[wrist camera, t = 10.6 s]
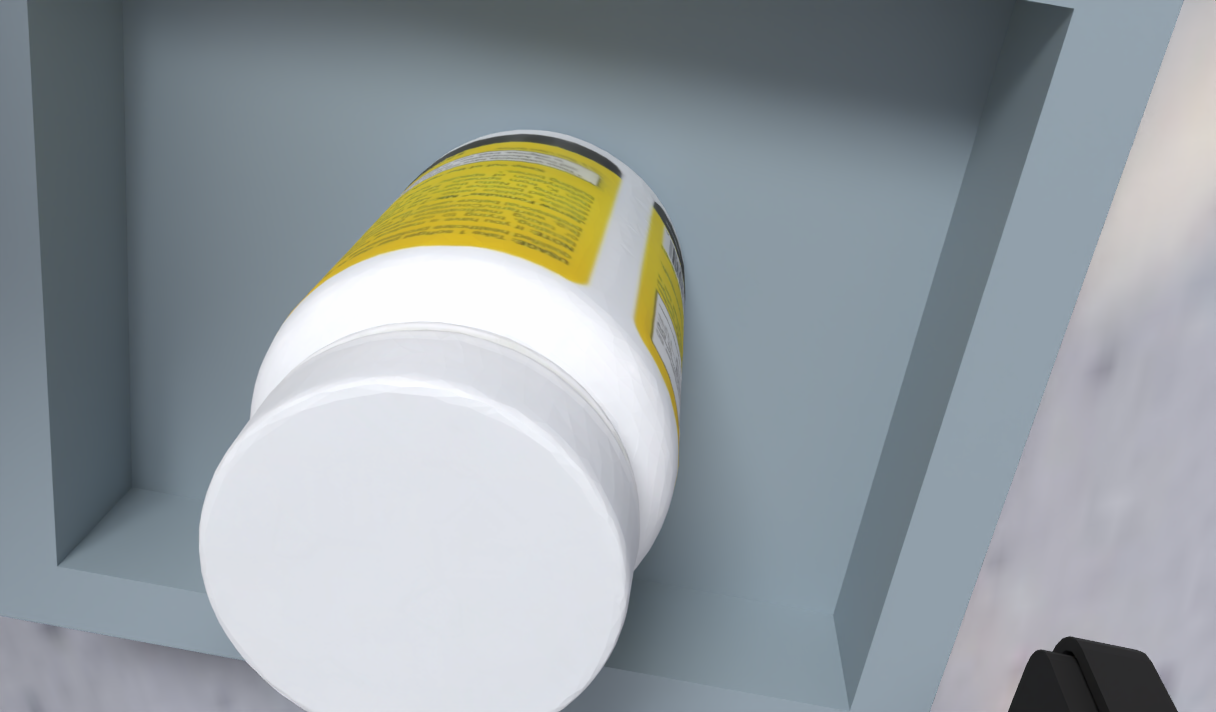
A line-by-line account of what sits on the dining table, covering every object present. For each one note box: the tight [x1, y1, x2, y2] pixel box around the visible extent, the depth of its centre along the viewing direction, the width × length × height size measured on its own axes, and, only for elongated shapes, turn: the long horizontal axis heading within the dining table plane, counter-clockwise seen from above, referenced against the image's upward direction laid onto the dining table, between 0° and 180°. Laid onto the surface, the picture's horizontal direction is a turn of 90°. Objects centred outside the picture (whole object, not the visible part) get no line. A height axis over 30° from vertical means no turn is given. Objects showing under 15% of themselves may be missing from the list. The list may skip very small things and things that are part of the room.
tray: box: [0, 0, 1184, 712], centre depth 17 cm, size 15×13×3 cm
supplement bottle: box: [199, 130, 685, 712], centre depth 14 cm, size 5×5×8 cm
